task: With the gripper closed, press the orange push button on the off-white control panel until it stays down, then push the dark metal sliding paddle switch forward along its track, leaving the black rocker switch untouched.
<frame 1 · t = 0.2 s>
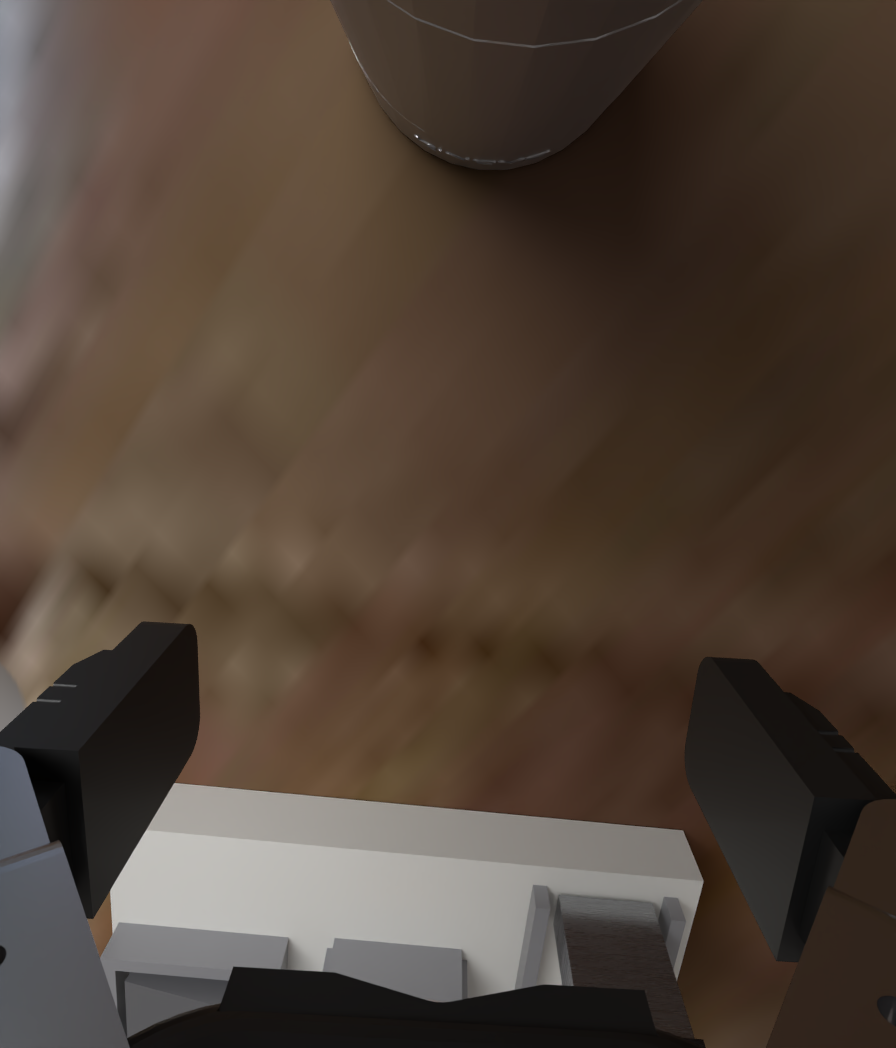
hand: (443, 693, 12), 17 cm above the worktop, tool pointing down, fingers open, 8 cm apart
rocker switch: (189, 1016, 31), point 5 cm above the worktop, hinge at 10.0°
control panel: (397, 939, 36), on the worktop
slide paddle: (619, 986, 28), point 7 cm above the worktop, slide at 0.0 cm
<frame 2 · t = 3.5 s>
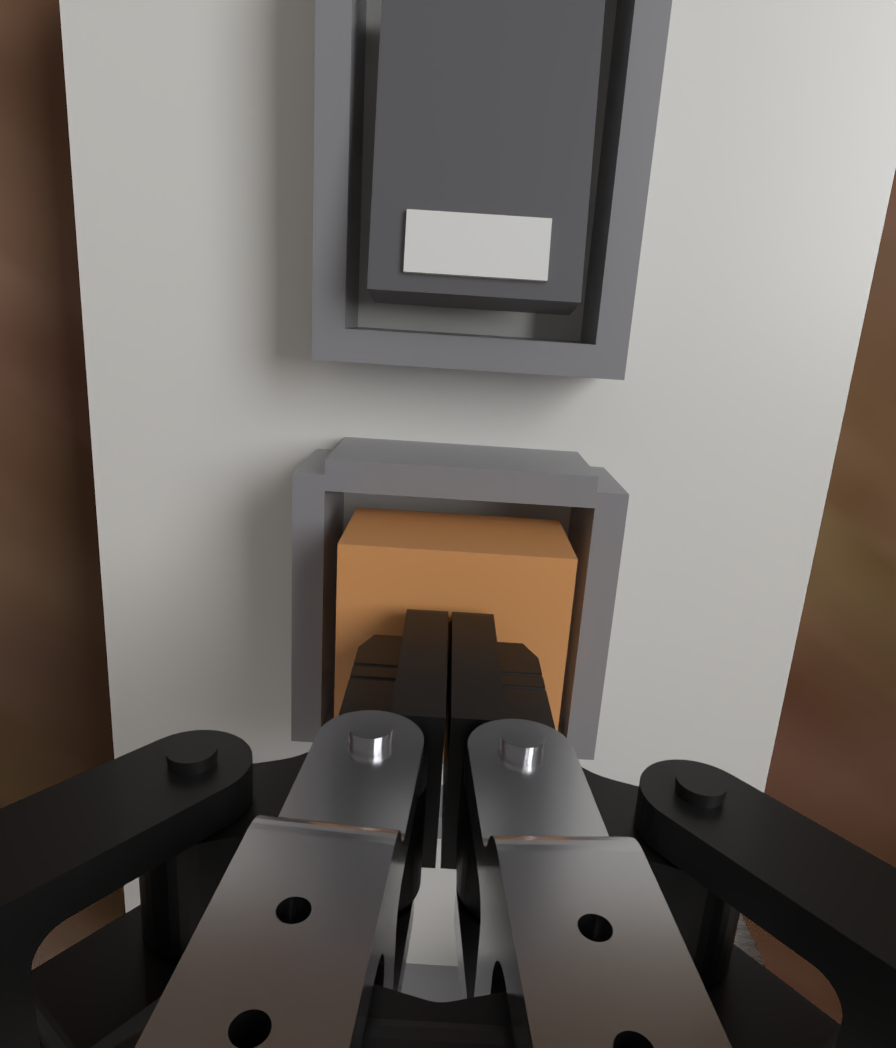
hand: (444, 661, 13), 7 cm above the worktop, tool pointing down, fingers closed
rocker switch: (483, 147, 13), point 5 cm above the worktop, hinge at 10.0°
control panel: (453, 540, 20), on the worktop
push button: (451, 632, 14), point 6 cm above the worktop, slide at 0.5 cm, touching gripper
slide paddle: (707, 1033, 16), point 7 cm above the worktop, slide at 0.0 cm
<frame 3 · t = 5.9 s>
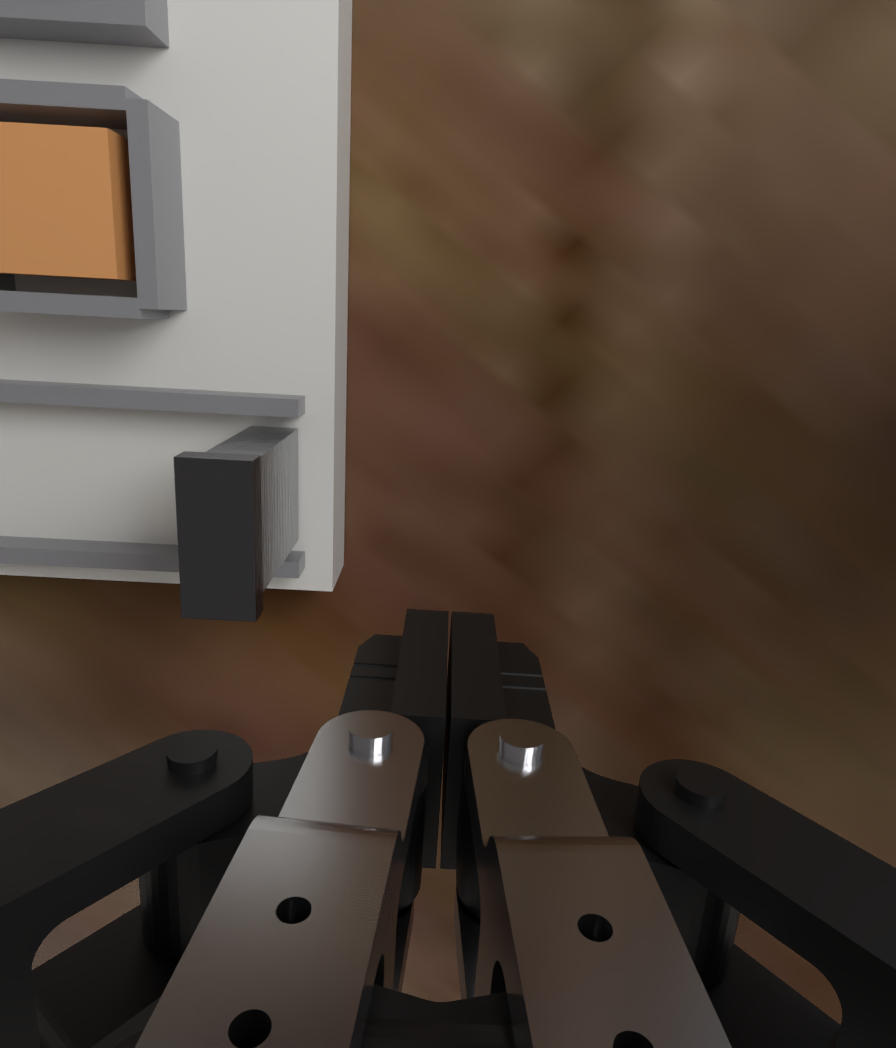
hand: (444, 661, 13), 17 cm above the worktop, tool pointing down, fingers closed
control panel: (125, 224, 26), on the worktop
push button: (63, 207, 22), point 4 cm above the worktop, slide at 1.9 cm
slide paddle: (250, 508, 22), point 7 cm above the worktop, slide at 0.0 cm
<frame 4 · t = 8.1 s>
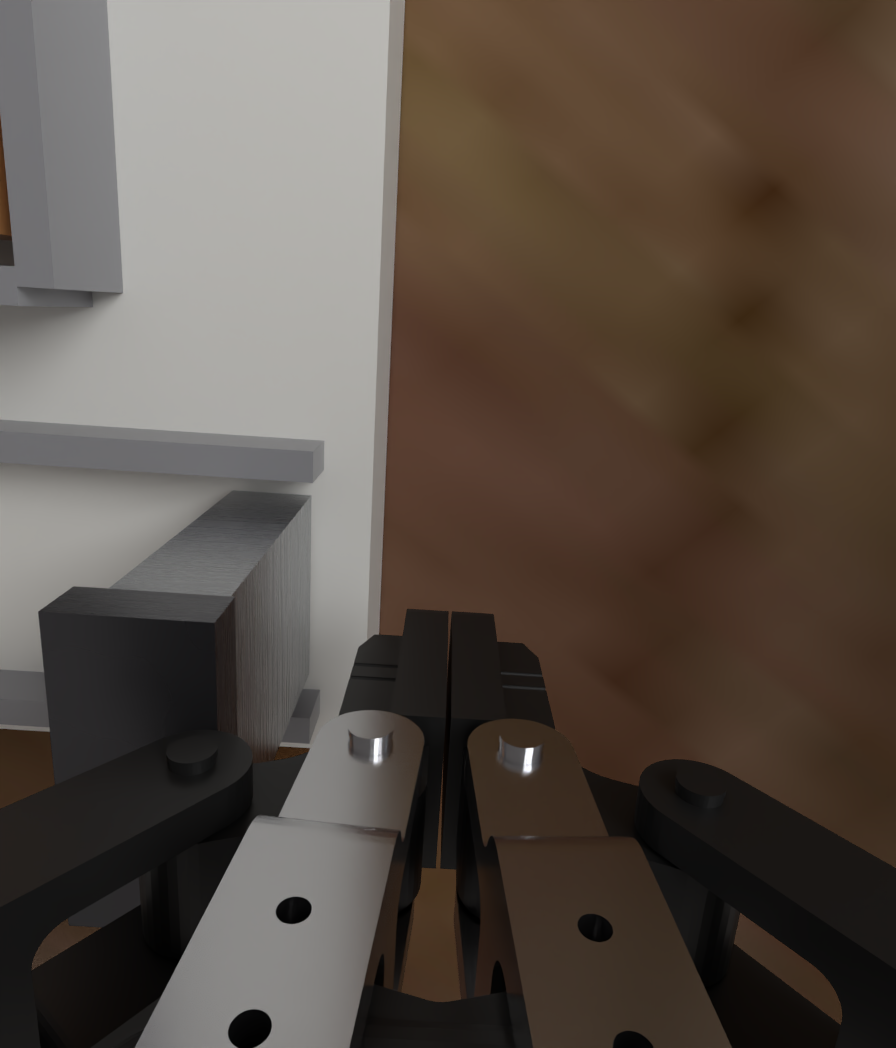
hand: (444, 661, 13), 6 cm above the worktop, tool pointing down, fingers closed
control panel: (34, 153, 16), on the worktop
slide paddle: (222, 658, 12), point 7 cm above the worktop, slide at 0.0 cm, touching gripper
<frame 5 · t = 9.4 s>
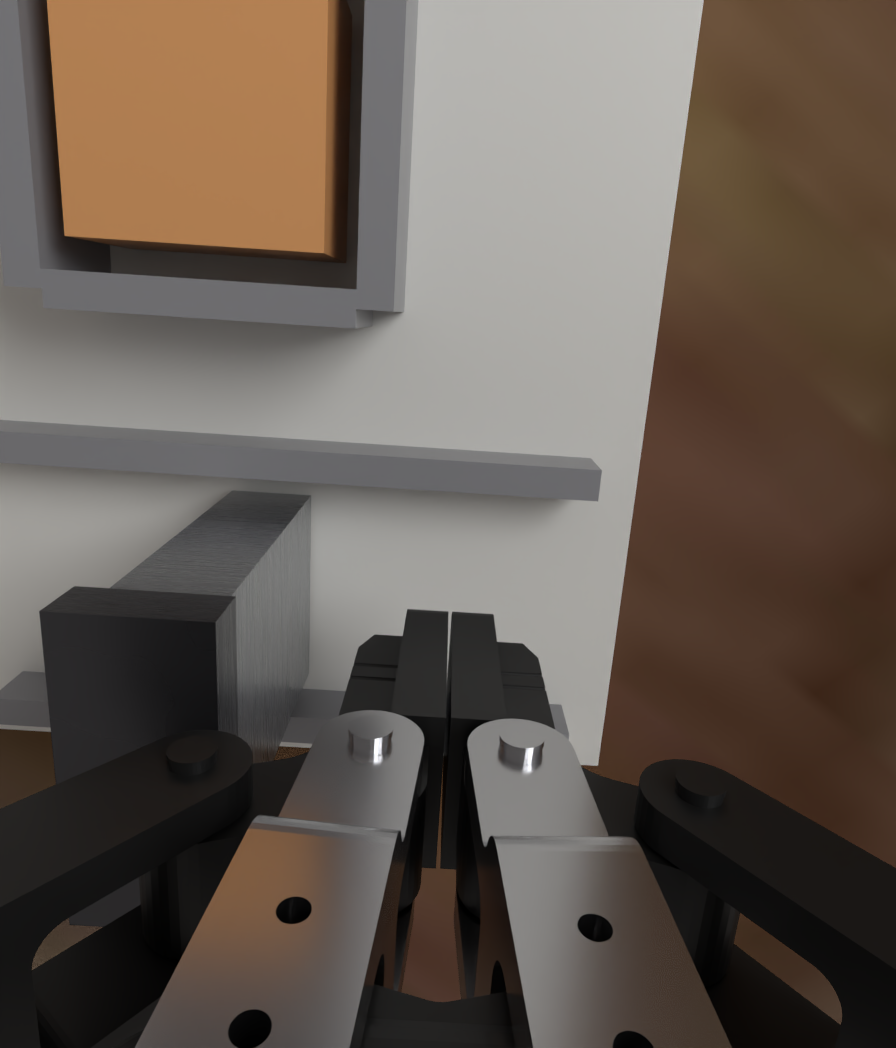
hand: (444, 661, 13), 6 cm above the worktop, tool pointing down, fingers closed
control panel: (279, 170, 16), on the worktop
push button: (215, 120, 12), point 4 cm above the worktop, slide at 1.9 cm
slide paddle: (222, 657, 12), point 7 cm above the worktop, slide at 5.4 cm, touching gripper
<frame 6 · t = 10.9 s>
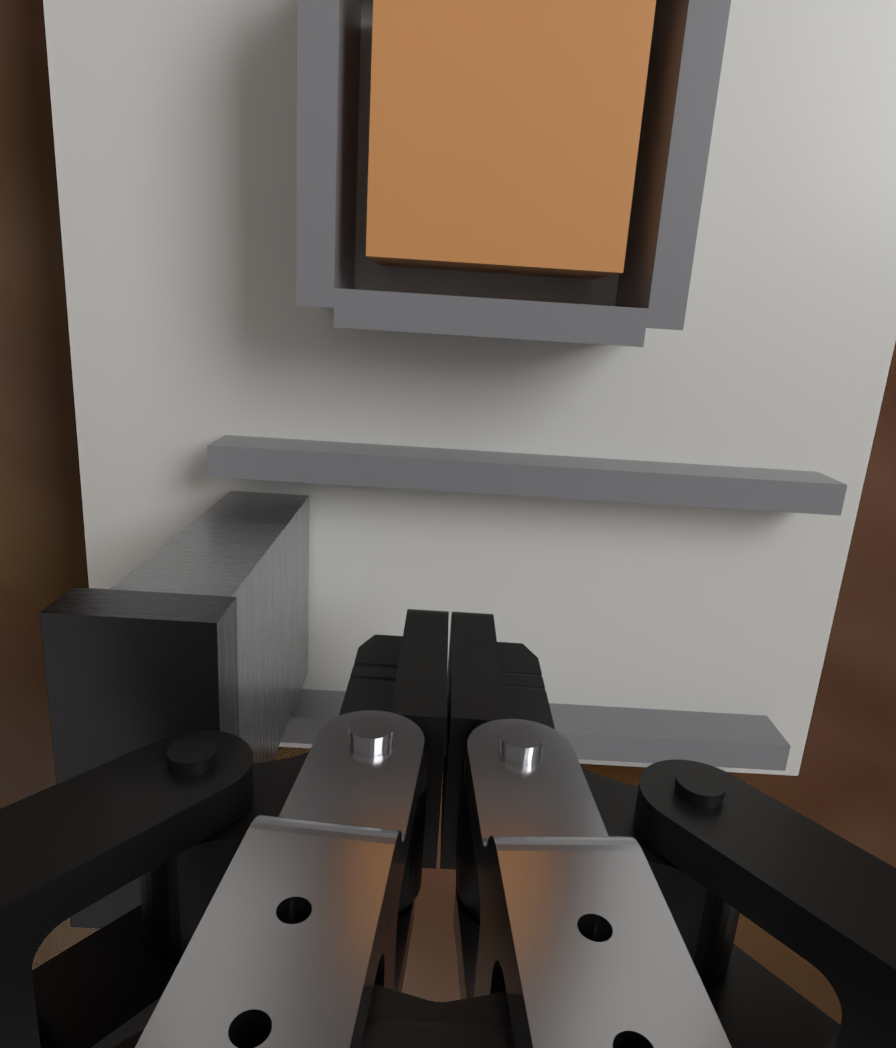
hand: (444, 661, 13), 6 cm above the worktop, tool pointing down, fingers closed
control panel: (487, 184, 16), on the worktop
push button: (500, 139, 12), point 4 cm above the worktop, slide at 1.9 cm
slide paddle: (222, 658, 12), point 7 cm above the worktop, slide at 10.1 cm, touching gripper
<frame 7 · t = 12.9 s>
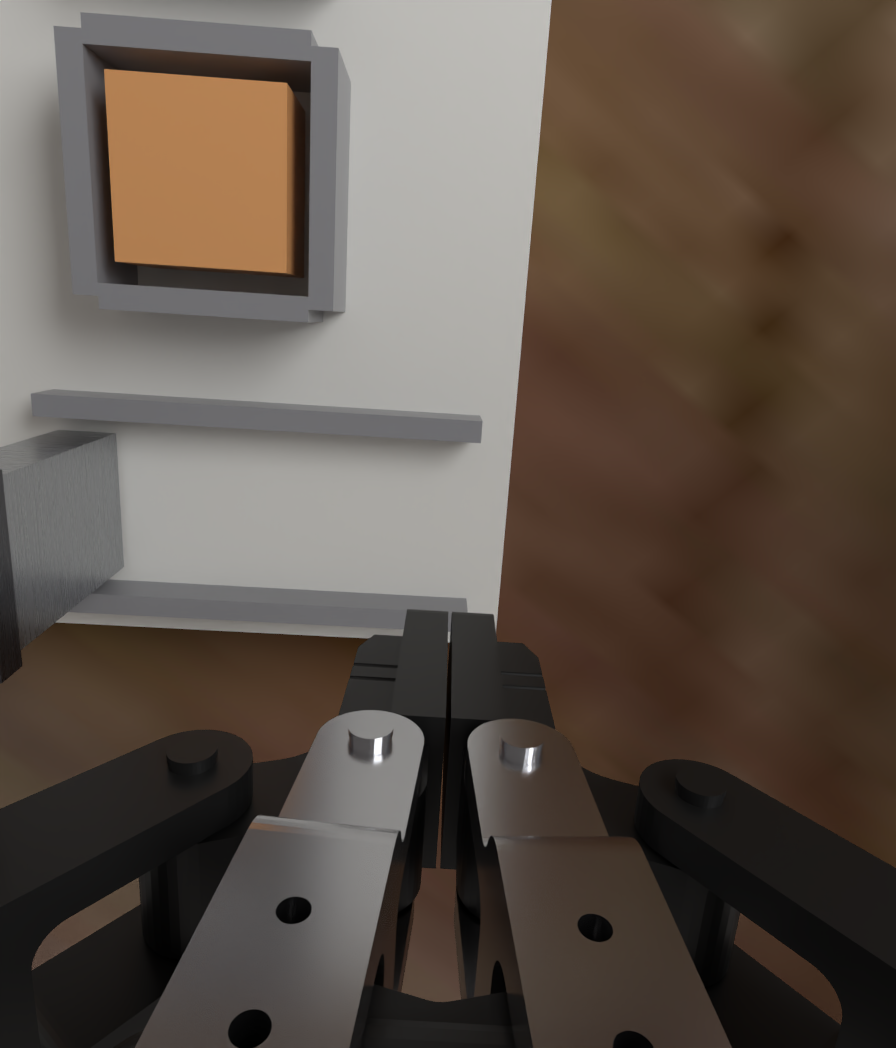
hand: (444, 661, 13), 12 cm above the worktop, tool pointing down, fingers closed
control panel: (256, 209, 22), on the worktop
push button: (213, 183, 18), point 4 cm above the worktop, slide at 1.9 cm
slide paddle: (29, 533, 18), point 7 cm above the worktop, slide at 10.0 cm
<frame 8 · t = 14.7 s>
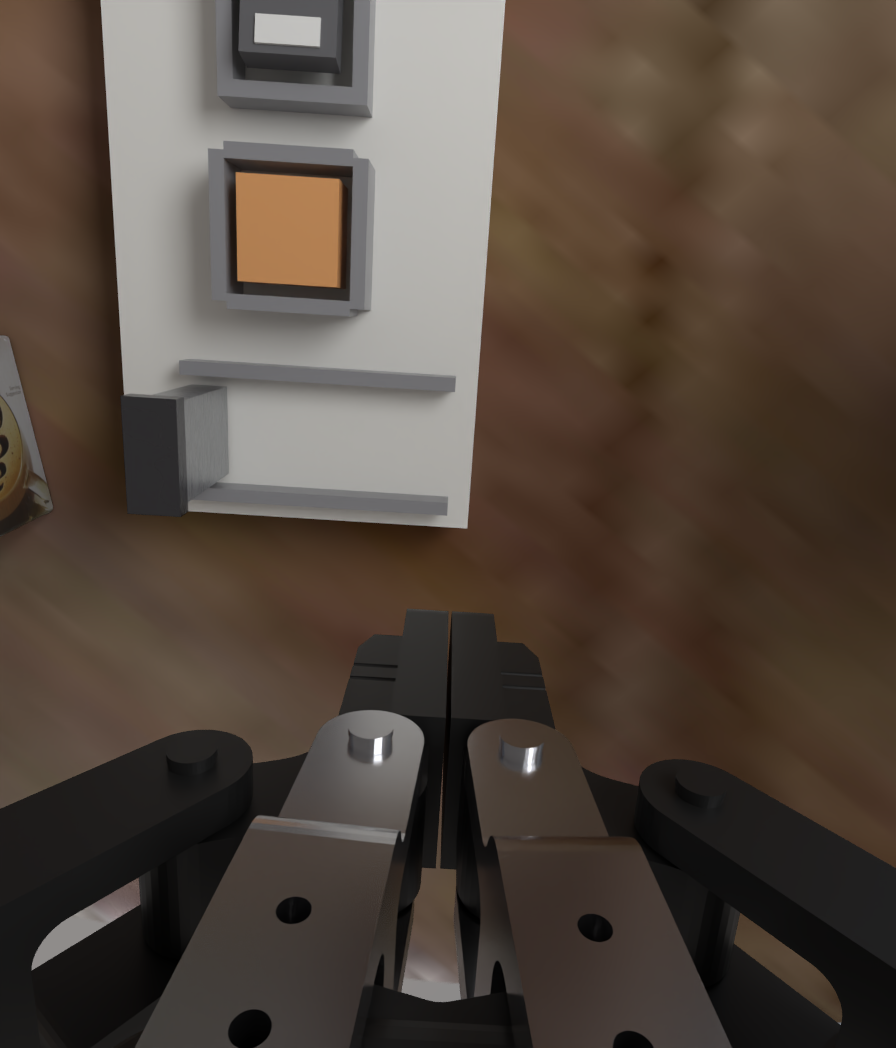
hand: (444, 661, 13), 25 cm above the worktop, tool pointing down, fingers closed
control panel: (313, 243, 34), on the worktop
push button: (293, 234, 30), point 4 cm above the worktop, slide at 1.9 cm
slide paddle: (184, 442, 30), point 7 cm above the worktop, slide at 10.0 cm
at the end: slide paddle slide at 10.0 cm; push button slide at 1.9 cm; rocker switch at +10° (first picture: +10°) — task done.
